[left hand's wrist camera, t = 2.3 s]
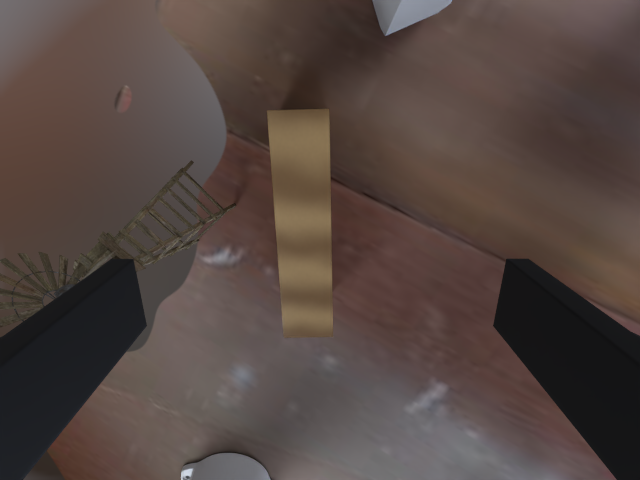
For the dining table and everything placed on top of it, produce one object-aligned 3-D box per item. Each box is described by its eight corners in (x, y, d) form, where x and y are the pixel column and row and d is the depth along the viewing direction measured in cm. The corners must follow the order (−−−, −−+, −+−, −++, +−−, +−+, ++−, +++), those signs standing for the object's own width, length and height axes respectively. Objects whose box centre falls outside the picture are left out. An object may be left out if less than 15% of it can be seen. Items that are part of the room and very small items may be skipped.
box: (279, 110, 44) (266, 110, 34) (327, 108, 44) (329, 108, 34) (290, 294, 53) (283, 338, 43) (330, 293, 53) (333, 337, 43)
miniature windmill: (149, 198, 48) (-95, 324, 20) (189, 156, 46) (-18, 229, 18) (199, 245, 50) (44, 416, 22) (240, 206, 48) (127, 340, 20)
